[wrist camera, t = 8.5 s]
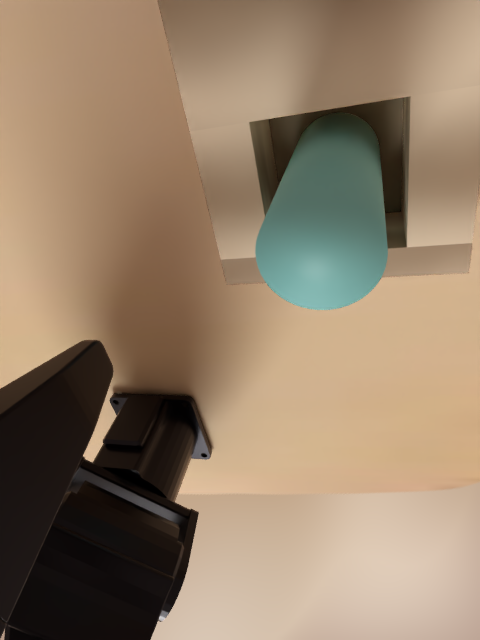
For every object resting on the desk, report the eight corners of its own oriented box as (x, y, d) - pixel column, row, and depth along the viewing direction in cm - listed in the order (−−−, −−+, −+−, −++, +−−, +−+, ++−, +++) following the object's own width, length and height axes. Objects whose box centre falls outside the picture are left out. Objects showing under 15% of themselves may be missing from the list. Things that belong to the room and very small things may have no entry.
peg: (379, 105, 18) (387, 185, 11) (380, 193, 20) (387, 308, 13) (290, 119, 19) (244, 200, 12) (299, 201, 21) (265, 311, 14)
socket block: (454, 233, 20) (468, 273, 17) (243, 249, 23) (226, 284, 20) (502, -292, 12) (544, -376, 9) (158, -161, 14) (110, -194, 12)
